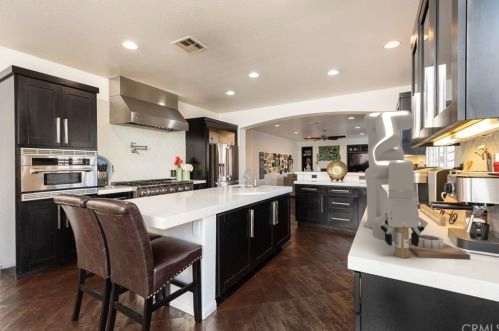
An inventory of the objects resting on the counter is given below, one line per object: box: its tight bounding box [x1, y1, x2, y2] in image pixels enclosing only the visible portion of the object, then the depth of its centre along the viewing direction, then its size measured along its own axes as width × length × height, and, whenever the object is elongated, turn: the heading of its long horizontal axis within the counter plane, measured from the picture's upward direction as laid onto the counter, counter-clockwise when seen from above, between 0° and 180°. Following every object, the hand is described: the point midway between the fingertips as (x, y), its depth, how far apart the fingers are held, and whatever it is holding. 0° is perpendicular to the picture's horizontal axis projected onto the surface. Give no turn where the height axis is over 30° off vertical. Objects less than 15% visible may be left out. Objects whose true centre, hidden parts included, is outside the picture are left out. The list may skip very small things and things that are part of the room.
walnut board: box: [393, 237, 471, 260], centre depth 91 cm, size 18×16×2 cm
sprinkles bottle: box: [394, 223, 410, 259], centre depth 85 cm, size 5×5×13 cm
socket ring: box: [418, 234, 444, 250], centre depth 91 cm, size 9×9×3 cm
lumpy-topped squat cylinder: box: [372, 216, 395, 242], centre depth 109 cm, size 10×13×9 cm
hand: (401, 244), depth 85 cm, fingers open, 7 cm apart
